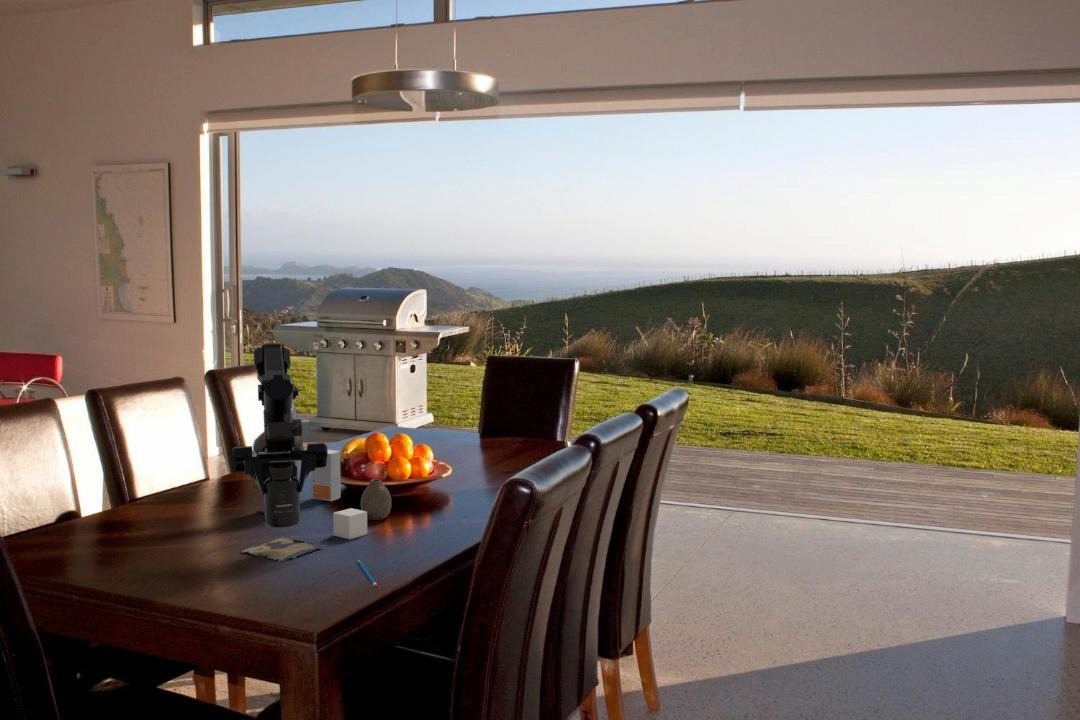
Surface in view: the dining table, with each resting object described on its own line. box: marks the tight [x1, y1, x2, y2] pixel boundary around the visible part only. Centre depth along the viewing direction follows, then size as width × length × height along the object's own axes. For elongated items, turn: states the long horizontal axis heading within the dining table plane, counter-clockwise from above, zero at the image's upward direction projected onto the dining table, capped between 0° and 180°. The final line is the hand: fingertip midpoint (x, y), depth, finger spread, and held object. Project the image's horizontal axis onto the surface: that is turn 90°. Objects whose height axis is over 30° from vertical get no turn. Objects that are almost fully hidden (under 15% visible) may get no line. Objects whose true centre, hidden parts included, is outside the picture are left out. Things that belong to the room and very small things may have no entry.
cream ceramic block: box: [333, 507, 368, 540], centre depth 201 cm, size 5×5×5 cm
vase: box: [360, 478, 392, 521], centre depth 214 cm, size 7×7×9 cm
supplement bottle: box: [264, 463, 301, 529], centre depth 188 cm, size 7×7×12 cm
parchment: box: [239, 537, 323, 563], centre depth 189 cm, size 12×13×1 cm
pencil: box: [356, 559, 379, 589], centre depth 175 cm, size 1×17×1 cm, turn 23°
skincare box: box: [310, 449, 341, 502], centre depth 232 cm, size 6×4×12 cm
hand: (282, 492), depth 187 cm, fingers closed on supplement bottle, 7 cm apart
